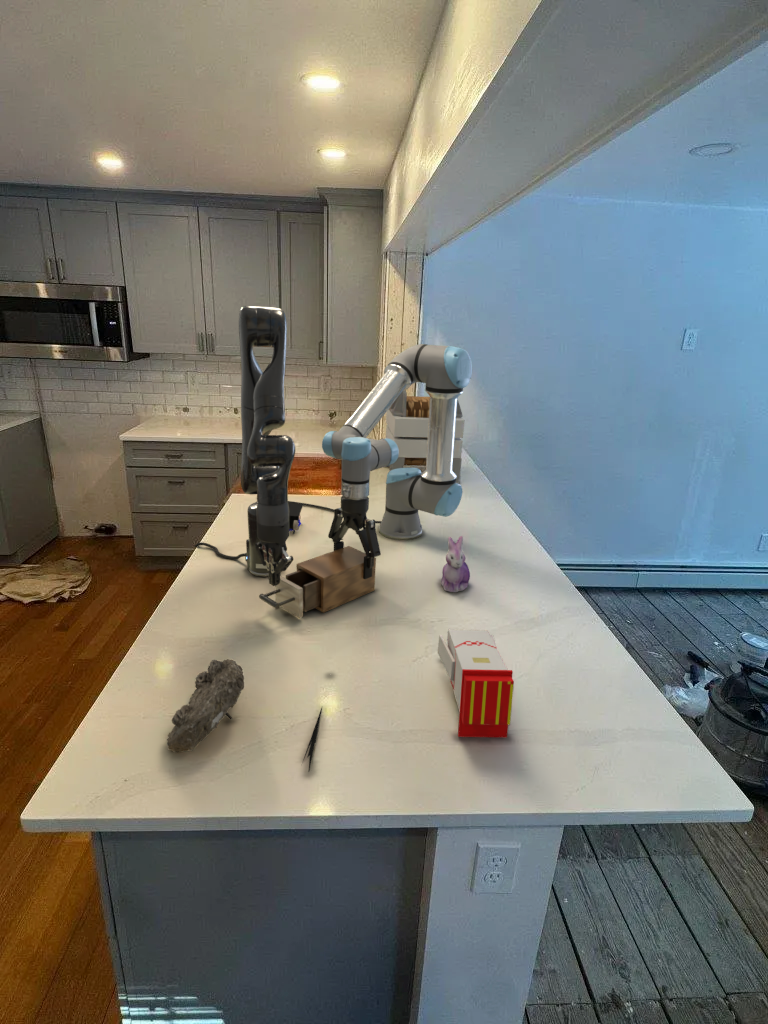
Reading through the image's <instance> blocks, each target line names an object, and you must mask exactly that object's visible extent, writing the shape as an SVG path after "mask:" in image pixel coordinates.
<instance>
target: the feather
mask: <svg viewBox="0 0 768 1024" xmlns="http://www.w3.org/2000/svg"><path fill="white" fill-rule="evenodd" d="M329 675H330V676H331V675H332V674H331V673H330V674H329ZM322 710H323V707H321V708H320V710H319V713H318V716H317V719H316V723H315V725H314V728H313V731H312V733H311V737H310V739H309V742H308V745H307V748H306V751H305V754H304V757H303V760H302V763H301V767H302V765H303V763H304V761H305V758H308V759H309V760H308V762H307V763H308V764H307V766H308V771H310V770H311V766H312V765H311V764H312V760H313V757H315V756H314V755H315V751H316V749H315V746H317V739H318V733H319V729H320V722H321V717H322V712H323V711H322ZM313 754H314V755H313ZM306 755H307V757H306Z"/></svg>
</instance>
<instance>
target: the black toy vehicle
mask: <svg viewBox="0 0 768 1024" xmlns="http://www.w3.org/2000/svg"><path fill="white" fill-rule="evenodd" d="M288 506H289V532H292V535H295V534H296V531H298V530H299V527H300V526H301V525H302V522H301V512H302V510H303V506H304V505H303V504H293V503H288Z"/></svg>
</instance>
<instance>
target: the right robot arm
mask: <svg viewBox="0 0 768 1024" xmlns="http://www.w3.org/2000/svg"><path fill="white" fill-rule="evenodd" d="M472 363H473V362H472V359H471V357H470V355H469V352H468V351H467V350H466V349H465V348H462V347H458V346H453V345H441V344H440V345H438V344H426V343H419V344H415V345H412V346H409V347H407V348H406V349H404V350H403V351H400V353H399V354H397V355H396V356H394V358H392V359H391V361H390V362H389V363H388V364H387V365H386V366H385V368H384V370H383V376H381V378H380V379H379V380H378V382H377V383H376V384H375V386H374V387H372V389H371V391H370V392H368V394H367V395H366V396H365V397H364V399H363V400H362V401H361V403H359V405H358V407H357V408H356V409H355V410H354V411H353V412H352V414H351V415H350V416H349V417H348V419H347V420H346V421H345V422H344V424H343V425H342V426H341V428H340V429H339V430H330V431H328V432H326V433H325V435H324V436H323V438H322V441H321V448H322V451H323V453H324V454H325V455H326V456H328V457H331V458H333V459H336V460H340V461H341V480H340V481H341V482H340V494H341V497H340V507H337V508H335V509H334V508H330V507H326V506H322V505H317V504H311V503H305V502H298V501H291V500H288V503H293V504H303V506H306V507H312V508H317V509H322V510H326V511H330V512H333V520H332V523H331V525H330V529H329V532H328V535H327V536H328V539H331V540H332V542H333V551H335V550H338V549H341V548H344V547H345V546H344V545H345V544H344V543H345V542H344V541H343V540H344V537H345V535H346V533H348V531H349V529H351V530H352V531H354V532H355V534H356V535H357V536H358V538H359V541H360V544H361V546H362V549H363V551H364V553H365V554H366V556H364V569H363V579H367V578H370V577H372V568H373V567H374V557H375V558H377V557H380V556H381V553H382V552H381V549H380V543H379V539H378V534H377V530H376V524H379V526H378V533H379V534H380V535H381V536H382V537H385V538H387V539H389V540H395V541H410V540H415V539H418V538H420V537H421V536H422V535H423V525H422V524H421V518H420V515H419V511H421V512H424V513H428V514H431V515H434V516H440V517H444V518H445V517H450V516H452V515H453V514H454V513H455V512H456V511H457V509H458V507H459V505H460V503H461V501H462V498H463V497H462V496H463V487H462V485H461V484H459V483H456V474H455V473H454V472H453V471H452V466H453V453H454V439H455V425H456V411H457V398H458V399H459V397H460V396H461V395H462V394H463V393H464V389H465V388H466V387H468V386H469V384H470V383H471V379H472V375H473V364H472ZM415 383H420V384H425V392H426V394H428V397H430V403H429V422H428V440H427V458H426V466H425V469H424V470H423V471H422V470H421V469H420V468H418V467H404V468H398V469H394V470H391V471H390V470H388V472H387V475H386V480H385V504H384V505H385V507H384V508H385V509H384V513H383V515H382V519H381V520H375V519H369V518H368V517H367V513H368V511H369V508H370V507H369V505H370V498H369V496H370V479H371V472H372V471H375V470H378V469H382V468H386V467H387V466H389V465H391V464H393V463H394V462H396V460H397V459H398V456H399V449H398V446H397V444H396V443H395V442H394V441H393V440H391V439H388V438H387V439H385V438H380V439H375V438H369V437H368V436H369V435H370V433H371V432H372V431H373V430H374V429H375V427H376V426H377V424H378V423H380V421H381V419H382V418H383V417H384V415H385V414H386V412H387V410H388V409H389V408H390V406H391V405H392V404H393V403H394V401H395V400H396V399H397V397H398V396H399V395H400V394H401V392H402V391H403V390H406V391H407V390H408V389H410V388H411V386H412V385H414V384H415Z"/></svg>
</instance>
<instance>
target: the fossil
mask: <svg viewBox="0 0 768 1024" xmlns="http://www.w3.org/2000/svg"><path fill="white" fill-rule="evenodd" d="M243 670H244V669H243V667H242V665H240V664H237V662H236V661H235V660H234V659H232V658H231V659H227V658H226V659H224V660H223V661H222V660H217V659H212V660H211V661H210V663H209V665H208V666H207V671H201V672H199V673H198V674H197V675H196V676H195V680H194V684H195V685H194V687H195V689H194V690H193V693H192V694H191V697H190V698H189V700H188V704H184V705H182V706H181V707H180V709H177V710H176V711H175V713H174V715H173V716H172V718H171V723H172V724H173V727H172V730H171V731H170V732H168V734H167V738H166V741H167V742H166V745H167V749H168V750H169V751H173V752H174V753H176V754H178V753H182V752H188V751H189V752H192V751H193V750H195V748H196V747H197V746H199V744H200V743H201V742H203V741H204V740H205V739H206V738H207V737H208V736H209V735H210V734H211V733H212V732H214V730H215V729H217V727H218V726H219V724H220V722H221V721H222V720H223V719H224V718H225V716H226V717H227V719H229V720H233V717H232V715H230V714H229V710H230V709H231V708H234V706H235V704H236V703H237V702H238V699H239V697H240V695H241V693H242V691H243V690H245V689H244V688H245V675H244V671H243Z"/></svg>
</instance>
